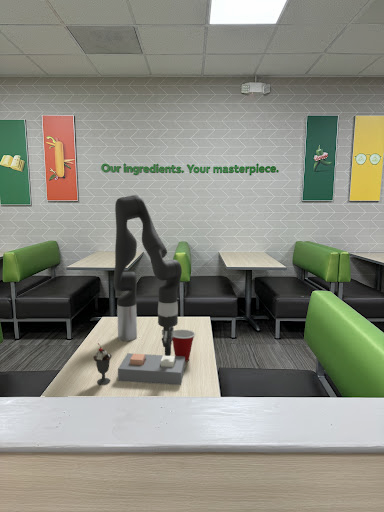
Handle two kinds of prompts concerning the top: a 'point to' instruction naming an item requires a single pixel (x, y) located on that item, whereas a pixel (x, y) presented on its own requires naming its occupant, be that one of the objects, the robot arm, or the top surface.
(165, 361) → the ivory key
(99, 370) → the sundae
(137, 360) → the terracotta key
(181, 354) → the plastic cup
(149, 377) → the key panel
